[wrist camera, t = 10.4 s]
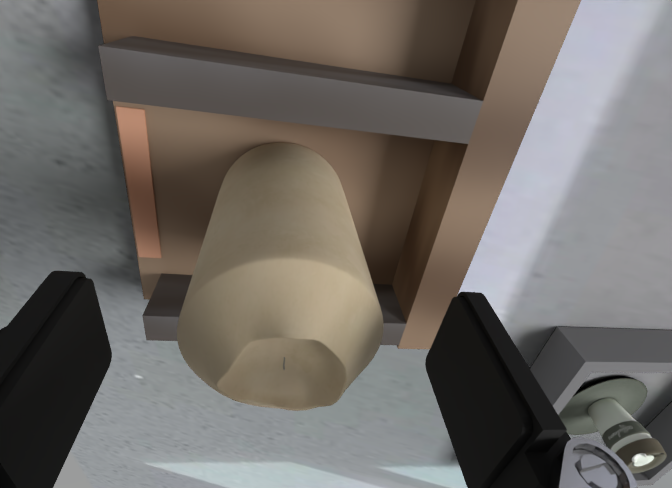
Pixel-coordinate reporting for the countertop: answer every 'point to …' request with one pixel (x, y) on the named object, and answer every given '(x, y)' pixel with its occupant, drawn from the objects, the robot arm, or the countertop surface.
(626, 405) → the coffee cup
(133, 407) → the countertop surface
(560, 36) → the wooden divided tray
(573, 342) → the grey shallow square tray
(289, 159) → the candle
